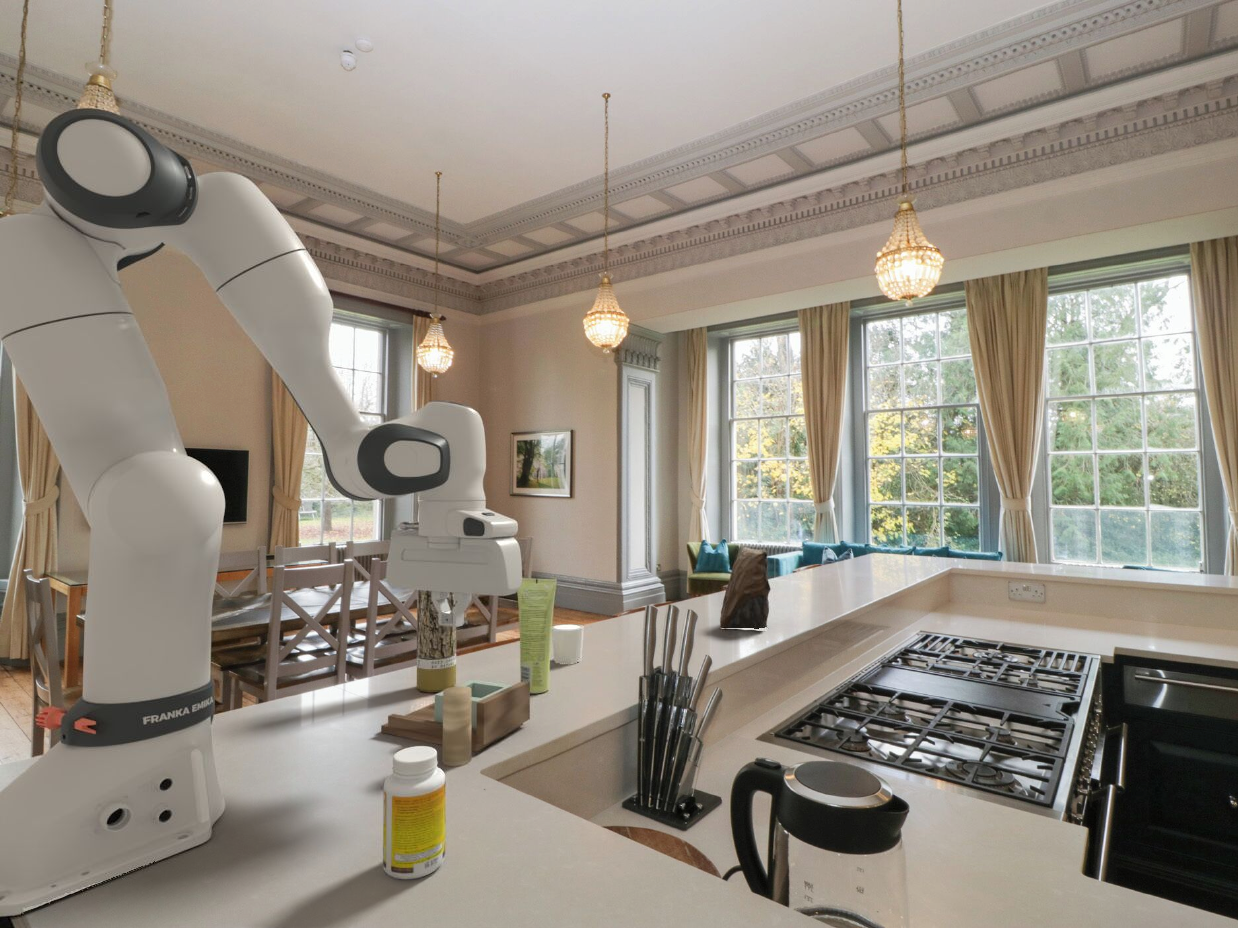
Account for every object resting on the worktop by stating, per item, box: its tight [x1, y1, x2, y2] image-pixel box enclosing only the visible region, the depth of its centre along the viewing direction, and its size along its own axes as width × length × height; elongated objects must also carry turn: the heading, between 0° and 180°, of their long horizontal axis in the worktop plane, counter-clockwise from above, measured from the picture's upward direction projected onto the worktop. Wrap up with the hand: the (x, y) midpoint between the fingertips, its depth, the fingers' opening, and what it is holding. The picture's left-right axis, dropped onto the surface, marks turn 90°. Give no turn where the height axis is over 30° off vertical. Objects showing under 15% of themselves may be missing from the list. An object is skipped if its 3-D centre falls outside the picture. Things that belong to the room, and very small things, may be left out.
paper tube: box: [416, 590, 457, 693], centre depth 118 cm, size 7×7×25 cm
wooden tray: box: [380, 680, 531, 752], centre depth 97 cm, size 11×18×6 cm, turn 65°
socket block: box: [434, 678, 514, 729], centre depth 96 cm, size 8×8×5 cm
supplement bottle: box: [382, 745, 446, 880], centre depth 62 cm, size 6×6×10 cm
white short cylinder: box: [551, 623, 585, 665], centre depth 136 cm, size 7×7×7 cm
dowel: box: [442, 685, 472, 767], centre depth 86 cm, size 4×4×9 cm
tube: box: [516, 577, 558, 694], centre depth 116 cm, size 6×5×20 cm
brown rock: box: [719, 546, 771, 629], centre depth 169 cm, size 13×13×20 cm
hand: (451, 625), depth 89 cm, fingers closed
